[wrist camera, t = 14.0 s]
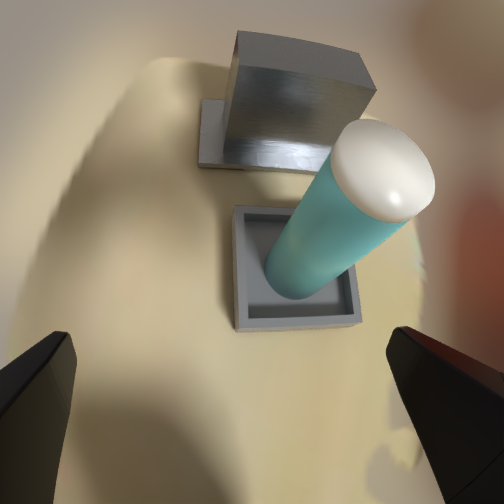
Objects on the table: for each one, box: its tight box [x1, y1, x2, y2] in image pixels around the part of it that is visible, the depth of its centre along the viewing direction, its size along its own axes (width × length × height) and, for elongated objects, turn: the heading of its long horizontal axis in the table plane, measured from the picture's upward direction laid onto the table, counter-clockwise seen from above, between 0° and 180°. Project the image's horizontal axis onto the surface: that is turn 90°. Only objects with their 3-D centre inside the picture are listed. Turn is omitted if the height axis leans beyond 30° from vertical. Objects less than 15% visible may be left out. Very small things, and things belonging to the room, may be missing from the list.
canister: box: [264, 119, 435, 300], centre depth 17 cm, size 4×4×13 cm
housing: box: [198, 31, 377, 175], centre depth 24 cm, size 8×14×10 cm, turn 93°
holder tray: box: [232, 205, 362, 332], centre depth 23 cm, size 9×9×2 cm
